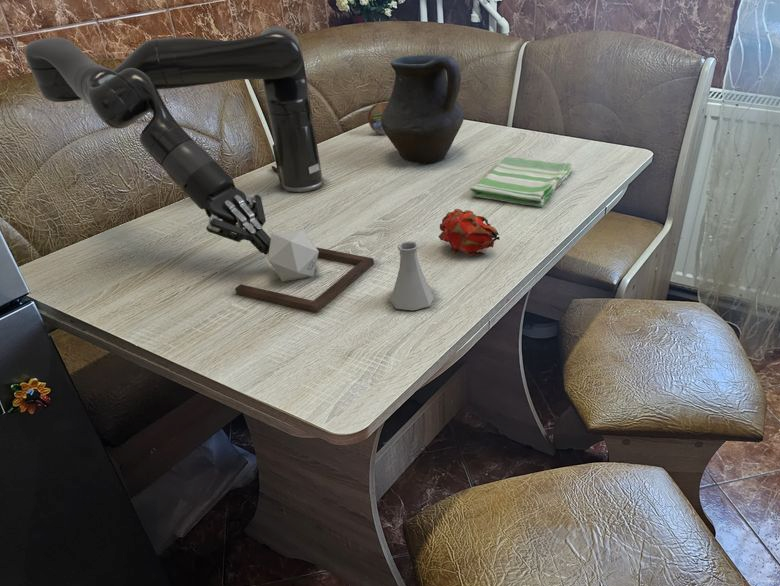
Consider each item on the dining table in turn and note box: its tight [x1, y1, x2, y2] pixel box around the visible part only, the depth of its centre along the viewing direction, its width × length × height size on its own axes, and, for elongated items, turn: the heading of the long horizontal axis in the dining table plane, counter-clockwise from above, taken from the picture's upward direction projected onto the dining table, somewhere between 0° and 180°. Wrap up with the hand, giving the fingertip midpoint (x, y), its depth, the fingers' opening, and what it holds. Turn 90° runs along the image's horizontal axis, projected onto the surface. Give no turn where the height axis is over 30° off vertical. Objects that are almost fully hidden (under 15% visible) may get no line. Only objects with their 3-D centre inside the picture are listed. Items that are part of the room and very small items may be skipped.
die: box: [267, 227, 319, 283], centre depth 110 cm, size 8×9×10 cm
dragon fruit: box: [438, 208, 501, 257], centre depth 116 cm, size 8×8×12 cm
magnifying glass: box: [367, 101, 388, 136], centre depth 178 cm, size 15×3×8 cm, turn 118°
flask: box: [390, 240, 435, 311], centre depth 101 cm, size 7×7×10 cm
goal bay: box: [234, 246, 375, 314], centre depth 111 cm, size 16×18×1 cm
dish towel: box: [469, 157, 573, 208], centre depth 144 cm, size 18×23×3 cm
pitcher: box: [381, 54, 465, 164], centre depth 154 cm, size 21×22×25 cm
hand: (270, 250), depth 111 cm, fingers closed
